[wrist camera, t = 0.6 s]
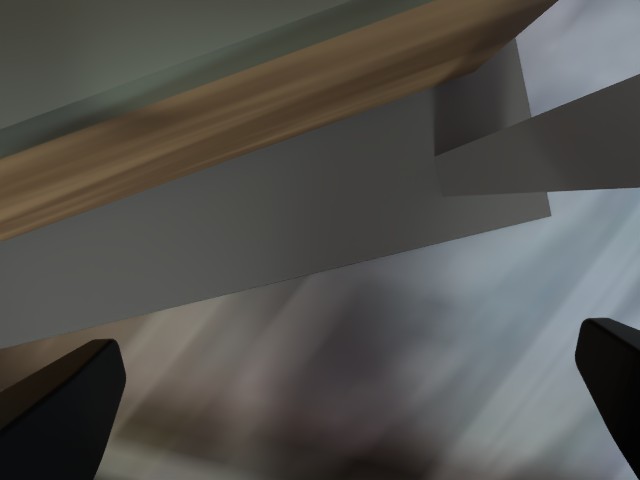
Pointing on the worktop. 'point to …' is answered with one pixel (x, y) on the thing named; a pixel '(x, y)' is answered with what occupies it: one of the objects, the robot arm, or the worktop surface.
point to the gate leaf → (206, 83)
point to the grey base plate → (324, 201)
